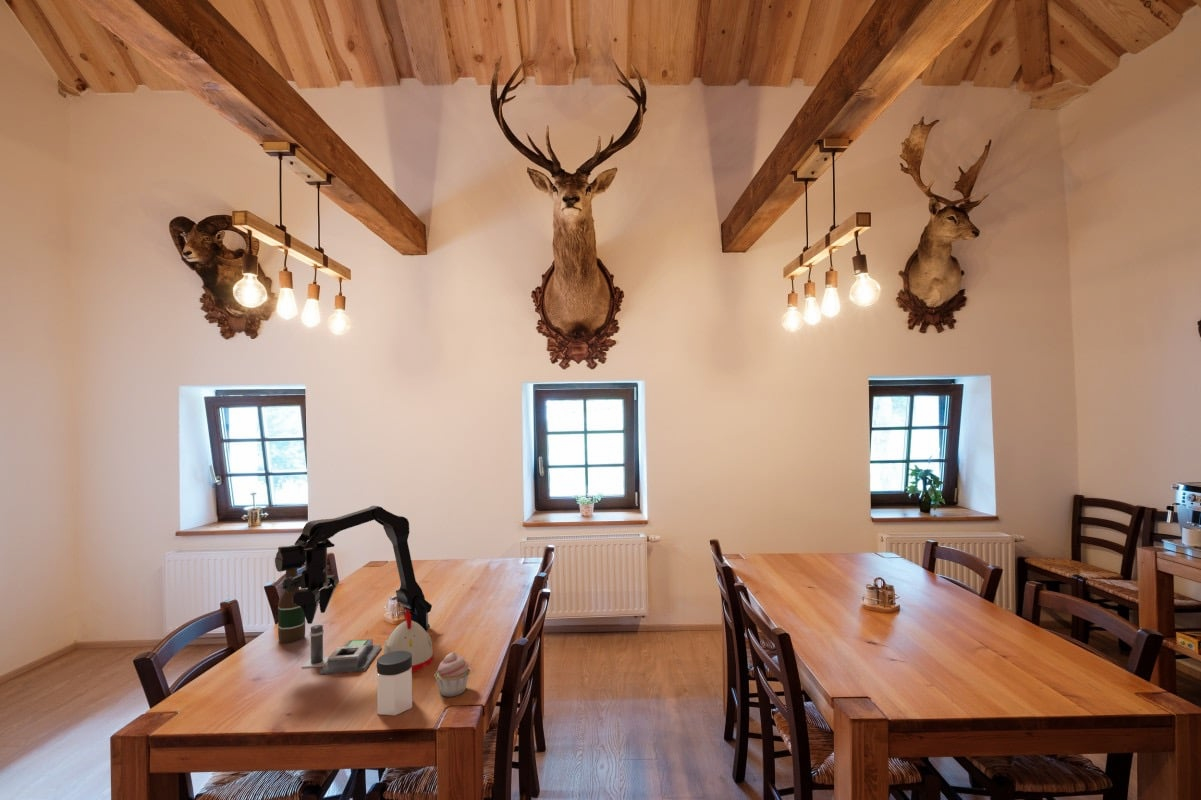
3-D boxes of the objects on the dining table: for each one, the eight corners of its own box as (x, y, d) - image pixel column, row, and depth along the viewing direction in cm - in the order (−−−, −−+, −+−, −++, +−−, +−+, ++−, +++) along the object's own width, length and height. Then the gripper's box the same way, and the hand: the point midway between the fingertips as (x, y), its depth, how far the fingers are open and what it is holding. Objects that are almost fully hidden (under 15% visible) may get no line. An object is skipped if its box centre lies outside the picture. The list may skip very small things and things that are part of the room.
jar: (402, 694, 142) (402, 647, 142) (420, 704, 136) (419, 655, 137) (369, 709, 135) (368, 659, 135) (386, 720, 130) (385, 668, 130)
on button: (367, 646, 170) (367, 640, 170) (362, 652, 166) (362, 645, 166) (352, 647, 170) (352, 641, 170) (347, 653, 165) (347, 646, 166)
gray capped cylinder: (313, 659, 164) (312, 625, 164) (325, 658, 164) (325, 624, 165) (307, 664, 160) (307, 629, 161) (320, 663, 161) (320, 628, 161)
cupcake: (472, 696, 140) (472, 656, 140) (434, 703, 137) (433, 662, 138) (470, 680, 149) (470, 642, 149) (434, 686, 146) (433, 647, 146)
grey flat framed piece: (381, 648, 172) (381, 634, 172) (364, 671, 156) (364, 655, 156) (341, 650, 171) (340, 636, 171) (320, 674, 155) (320, 658, 155)
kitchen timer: (385, 677, 152) (384, 622, 152) (380, 659, 164) (379, 607, 165) (437, 666, 158) (436, 613, 159) (428, 649, 170) (428, 599, 171)
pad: (331, 657, 166) (331, 656, 166) (323, 666, 160) (323, 665, 160) (310, 659, 165) (310, 657, 165) (301, 668, 159) (301, 666, 159)
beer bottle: (310, 635, 184) (310, 562, 185) (290, 644, 177) (290, 568, 178) (293, 633, 187) (292, 561, 187) (272, 642, 179) (272, 567, 180)
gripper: (301, 558, 172) (301, 609, 171) (272, 574, 153) (272, 631, 153) (338, 556, 173) (339, 606, 172) (314, 572, 154) (314, 629, 154)
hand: (316, 617), depth 163 cm, fingers open, 9 cm apart
